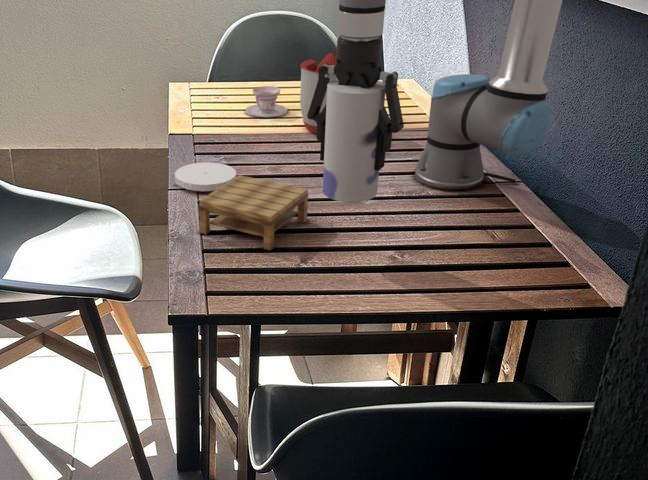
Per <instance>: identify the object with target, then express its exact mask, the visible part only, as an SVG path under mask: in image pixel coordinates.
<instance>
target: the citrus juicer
mask: <svg viewBox="0 0 648 480" xmlns="http://www.w3.org/2000/svg"><path fill="white" fill-rule="evenodd" d="M336 62H337V58H336V55H335V54H334V53H333V52H329V53H328V54H326V56H325V57H324V58H323V59H322V60H321V61H320V62H319V63H318V66H317V62H316V61H315V60H314V59H306V60H304V61H302V62H301V63H300V93H299V94H300V96H299V99H300V102H299V103H300V104H299V105H300V112H301V117H302V122H303V124H304V126H305V129H306V130H307V131H309V132H311V133H314V134H316V135H317V123H316V121H314V120H312V119H311V120H310V119H308V117H307V115H308V111H309V108H310V105H311V102H312V99H313V95H314V92H315V89H316V86H317V83H318V80H319V77H318V69H319V67H320V66H322V65H324V64H326V63H328V64H330V65H334V66H335V65H336ZM333 80H337V77H336V75H335V74H334V73H333V76H332V77H330V81H329V82H331V81H333ZM326 103H327V90H326V94H325V97H324V100H323V103H322V106H321V109H320V113H321V111H322V110H323V108H324V107H325V105H326Z"/></svg>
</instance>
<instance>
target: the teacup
mask: <svg viewBox="0 0 648 480" xmlns="http://www.w3.org/2000/svg"><path fill="white" fill-rule="evenodd" d="M252 94H253V95H254V96H255V102H256V104H252V105H250V106H248V107H246V108H245V113H246V114H248V115H249V116H252V117H257V118H275V117H282V116H284V115H286V114H287V113H288V108H287V107H286V106H283V105H280V104H277V103H276V101H277V99H278V96H279V95H280V94H281V88H280V87H277V86H274V85H273V86H272V85H265V86H258V87H255V88H253V89H252Z"/></svg>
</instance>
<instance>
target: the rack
mask: <svg viewBox="0 0 648 480" xmlns="http://www.w3.org/2000/svg"><path fill="white" fill-rule="evenodd" d="M308 201H309V189H308V188H304V187H299V186H295V185H289V184H285V183H280V182H276V181H275V182H274V181H270V180H265V179H260V178H255V177H250V176H245V175H241V174H239V175H236V178H234V179H233V180H231V181H229V182H228V183H226V184H225V185H223V186H221V187H220V188H218V189H217V190H215V191H211V192H210V193H209V194H208V195H205V196H204V197H202V198H201V199H199V205H198V214H199V234H202V235H208V234H209V233H211V225H212V226H217V227H220V228H225V229H229V230H234V231H237V232H241V233H245V234H249V235H254V236H257V237H262V238H263V250H267V251H272V250H273V249H274V248H275V232H276V231H278V230H279V229H280V228H282V227H283V226H284V225H286V224H287V223H289V221H291V220H292V219H293V218H295V216H297V221H296V222H298V223H302V224H304V223H306V222H307V221H308V203H309V202H308ZM296 208H297V211H296V210H294V209H296ZM211 214H214V215H217V216H216V217H215V218H213V219H211V216H210V215H211Z"/></svg>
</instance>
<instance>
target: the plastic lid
mask: <svg viewBox="0 0 648 480" xmlns="http://www.w3.org/2000/svg"><path fill="white" fill-rule="evenodd" d="M236 177H237V170H236V169H235V168H233V167H232V166H230V165H228V164H224V163H219V162H208V161H207V162H195V163H194V162H193V163H190V164H186V165H184V166H181V167H179V168H178V169H176V170H175V171H174V183H175V185H177V186H178V187H180V188H182V189H185V190H188V191H189V190H190V191H193V192H214V191H215V190H216V191H217V189H218V188H220V187H221V186H223V185H225V184H226V183H228V182H229V181H231V180H233V179H234V178H236Z"/></svg>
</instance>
